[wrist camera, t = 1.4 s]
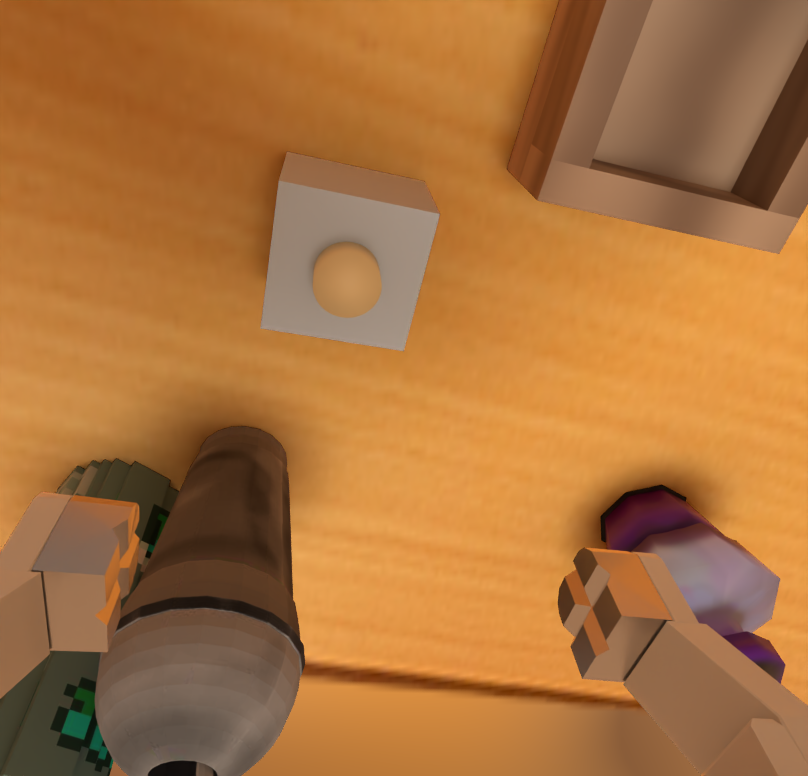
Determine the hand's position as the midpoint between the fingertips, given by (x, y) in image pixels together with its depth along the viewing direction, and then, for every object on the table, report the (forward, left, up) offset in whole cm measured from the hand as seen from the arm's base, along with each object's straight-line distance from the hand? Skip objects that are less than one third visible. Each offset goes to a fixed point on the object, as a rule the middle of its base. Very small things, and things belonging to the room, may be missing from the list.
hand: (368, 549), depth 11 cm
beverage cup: (-3, -13, -18) cm, 22 cm away
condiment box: (+11, +9, -18) cm, 23 cm away
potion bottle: (+21, -14, -18) cm, 31 cm away
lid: (0, 0, -18) cm, 18 cm away
